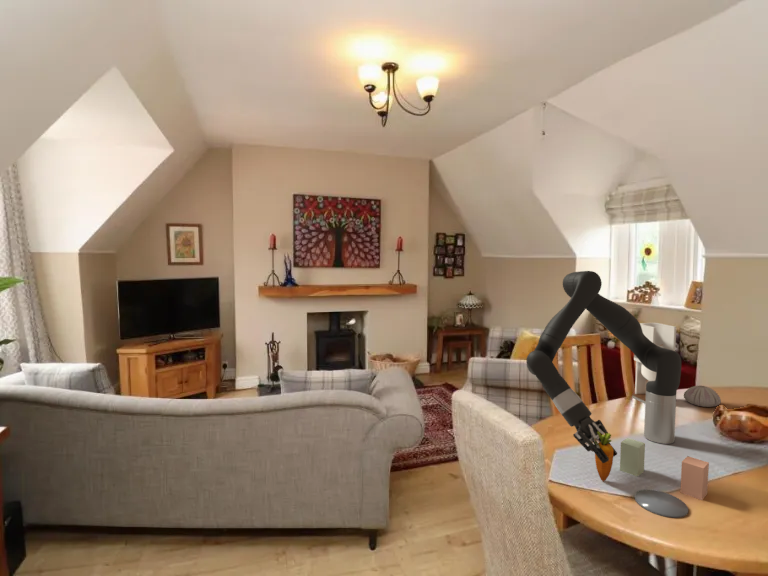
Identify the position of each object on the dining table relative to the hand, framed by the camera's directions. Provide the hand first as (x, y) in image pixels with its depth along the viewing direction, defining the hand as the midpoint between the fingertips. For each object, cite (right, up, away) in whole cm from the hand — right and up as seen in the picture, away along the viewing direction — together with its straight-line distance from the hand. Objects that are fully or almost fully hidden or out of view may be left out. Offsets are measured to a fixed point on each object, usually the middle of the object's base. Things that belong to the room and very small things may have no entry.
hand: (610, 458), depth 123 cm
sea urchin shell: (+76, -2, +66) cm, 100 cm away
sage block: (+11, -7, +8) cm, 15 cm away
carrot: (-1, -8, +2) cm, 8 cm away
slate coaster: (+8, -8, -10) cm, 15 cm away
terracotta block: (+21, -8, -5) cm, 23 cm away
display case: (+56, -2, +69) cm, 88 cm away
